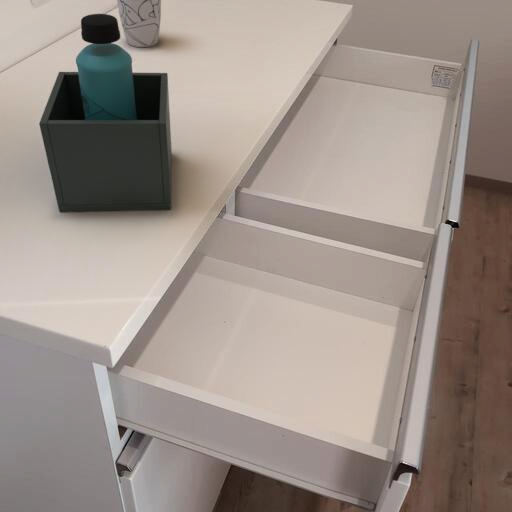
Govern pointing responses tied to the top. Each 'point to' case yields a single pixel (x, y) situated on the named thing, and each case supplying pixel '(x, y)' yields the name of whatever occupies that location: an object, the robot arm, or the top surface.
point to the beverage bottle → (105, 71)
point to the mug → (140, 21)
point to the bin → (109, 149)
